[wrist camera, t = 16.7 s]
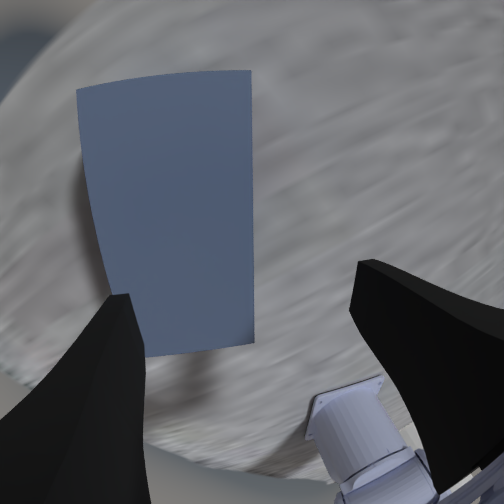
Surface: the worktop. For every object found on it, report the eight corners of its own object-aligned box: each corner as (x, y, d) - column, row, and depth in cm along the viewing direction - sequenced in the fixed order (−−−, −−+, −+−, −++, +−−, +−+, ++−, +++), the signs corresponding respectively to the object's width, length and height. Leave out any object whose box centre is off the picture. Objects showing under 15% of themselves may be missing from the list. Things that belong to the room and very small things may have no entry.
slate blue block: (233, 282, 19) (254, 342, 14) (139, 293, 18) (133, 358, 13) (226, 80, 14) (251, 70, 9) (109, 92, 12) (76, 89, 8)
